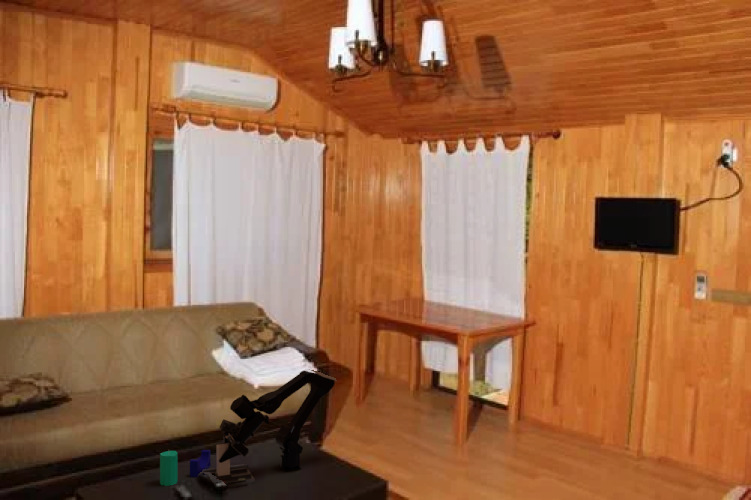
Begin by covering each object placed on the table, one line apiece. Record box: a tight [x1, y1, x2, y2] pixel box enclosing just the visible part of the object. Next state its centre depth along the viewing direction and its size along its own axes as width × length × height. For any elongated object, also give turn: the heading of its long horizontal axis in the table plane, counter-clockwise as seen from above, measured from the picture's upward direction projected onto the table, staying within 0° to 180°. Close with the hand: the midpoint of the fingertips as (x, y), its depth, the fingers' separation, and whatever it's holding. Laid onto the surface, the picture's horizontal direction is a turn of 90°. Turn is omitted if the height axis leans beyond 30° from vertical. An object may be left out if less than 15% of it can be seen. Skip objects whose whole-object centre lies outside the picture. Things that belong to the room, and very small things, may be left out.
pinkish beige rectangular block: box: [215, 443, 231, 478], centre depth 240 cm, size 5×4×11 cm
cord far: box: [202, 463, 249, 472], centre depth 249 cm, size 17×3×1 cm, turn 114°
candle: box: [159, 450, 179, 487], centre depth 237 cm, size 6×6×12 cm
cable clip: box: [189, 449, 211, 478], centre depth 249 cm, size 12×4×6 cm, turn 172°
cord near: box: [228, 482, 249, 488], centre depth 235 cm, size 7×1×1 cm, turn 114°
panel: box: [210, 467, 255, 487], centre depth 241 cm, size 14×12×2 cm
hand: (218, 459), depth 239 cm, fingers closed on pinkish beige rectangular block, 4 cm apart
